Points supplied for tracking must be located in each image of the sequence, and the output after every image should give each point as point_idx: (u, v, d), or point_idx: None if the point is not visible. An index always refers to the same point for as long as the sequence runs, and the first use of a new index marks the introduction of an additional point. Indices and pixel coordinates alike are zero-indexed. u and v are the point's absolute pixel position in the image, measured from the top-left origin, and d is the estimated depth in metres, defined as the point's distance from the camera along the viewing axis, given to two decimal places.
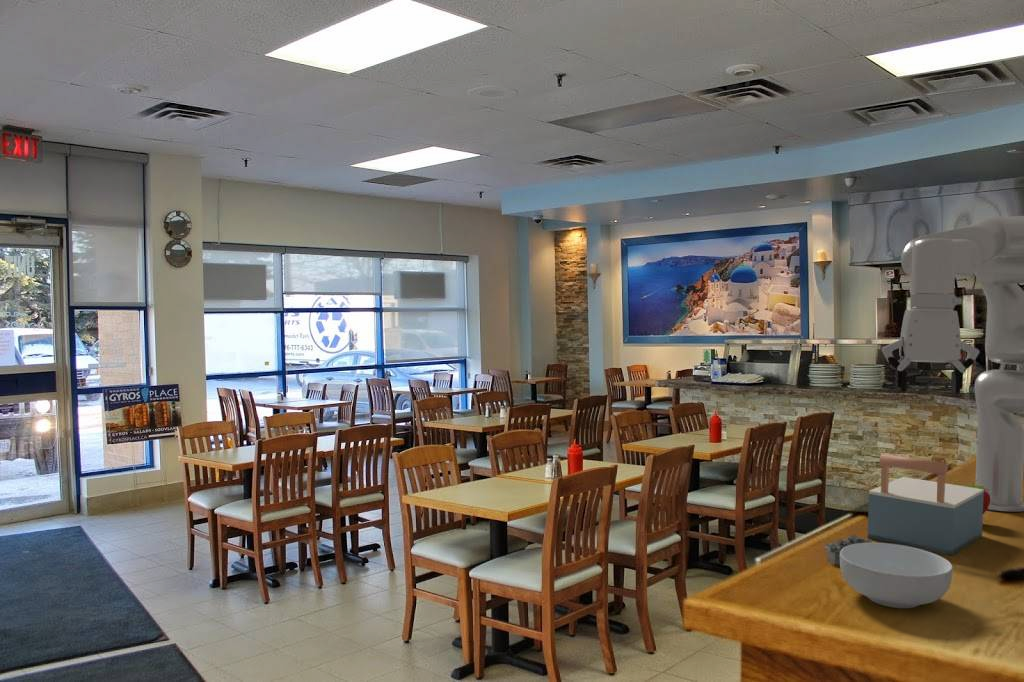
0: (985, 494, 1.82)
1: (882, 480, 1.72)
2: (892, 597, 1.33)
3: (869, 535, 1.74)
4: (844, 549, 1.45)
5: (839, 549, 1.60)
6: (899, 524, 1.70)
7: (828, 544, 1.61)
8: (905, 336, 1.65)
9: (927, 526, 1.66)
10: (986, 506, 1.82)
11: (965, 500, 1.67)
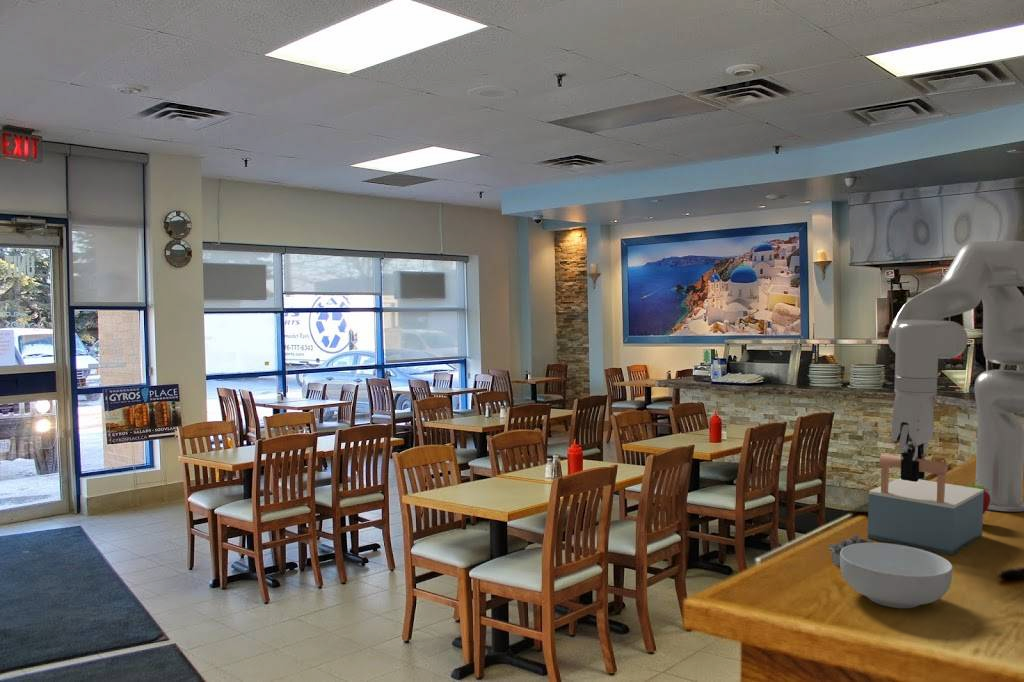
0: (985, 494, 1.82)
1: (882, 480, 1.72)
2: (892, 597, 1.33)
3: (869, 535, 1.74)
4: (844, 549, 1.45)
5: None
6: (899, 524, 1.70)
7: (832, 545, 1.60)
8: (911, 422, 1.63)
9: (927, 526, 1.66)
10: (986, 506, 1.82)
11: (965, 500, 1.67)
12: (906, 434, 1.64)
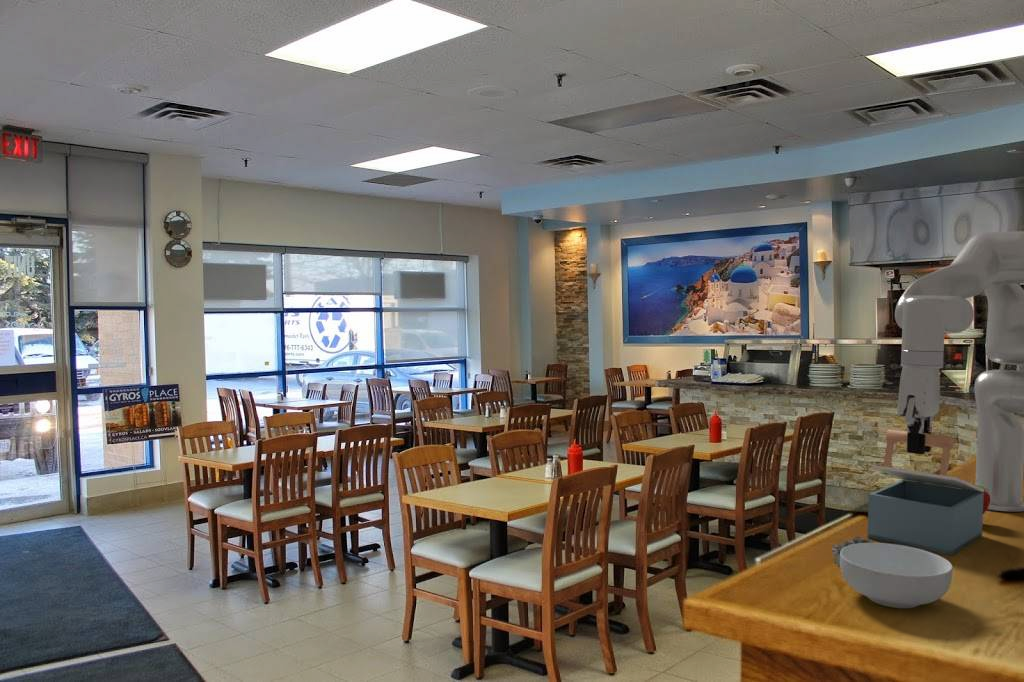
0: (985, 494, 1.82)
1: (886, 454, 1.73)
2: (892, 597, 1.33)
3: (869, 535, 1.74)
4: (844, 549, 1.45)
5: None
6: (899, 524, 1.70)
7: (834, 546, 1.59)
8: (918, 395, 1.65)
9: (927, 526, 1.66)
10: (986, 506, 1.82)
11: (967, 483, 1.67)
12: (913, 407, 1.66)
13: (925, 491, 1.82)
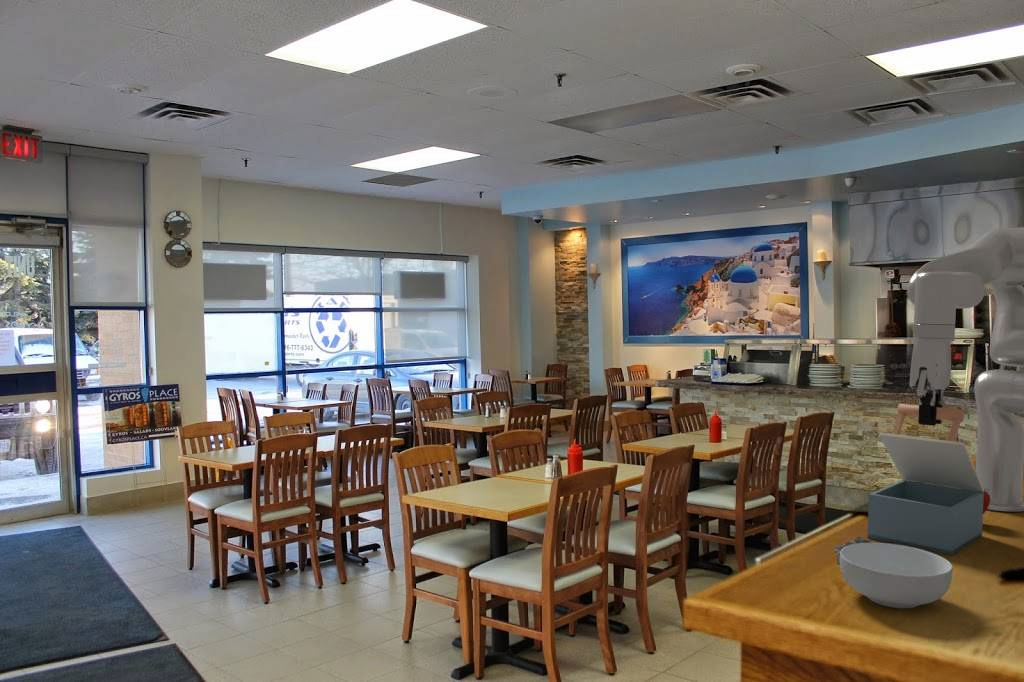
0: (985, 494, 1.82)
1: (896, 424, 1.76)
2: (892, 597, 1.33)
3: (869, 535, 1.74)
4: (844, 549, 1.45)
5: None
6: (899, 524, 1.70)
7: (837, 547, 1.59)
8: (930, 367, 1.69)
9: (927, 526, 1.66)
10: (986, 506, 1.82)
11: (971, 462, 1.69)
12: (924, 378, 1.69)
13: (925, 491, 1.82)
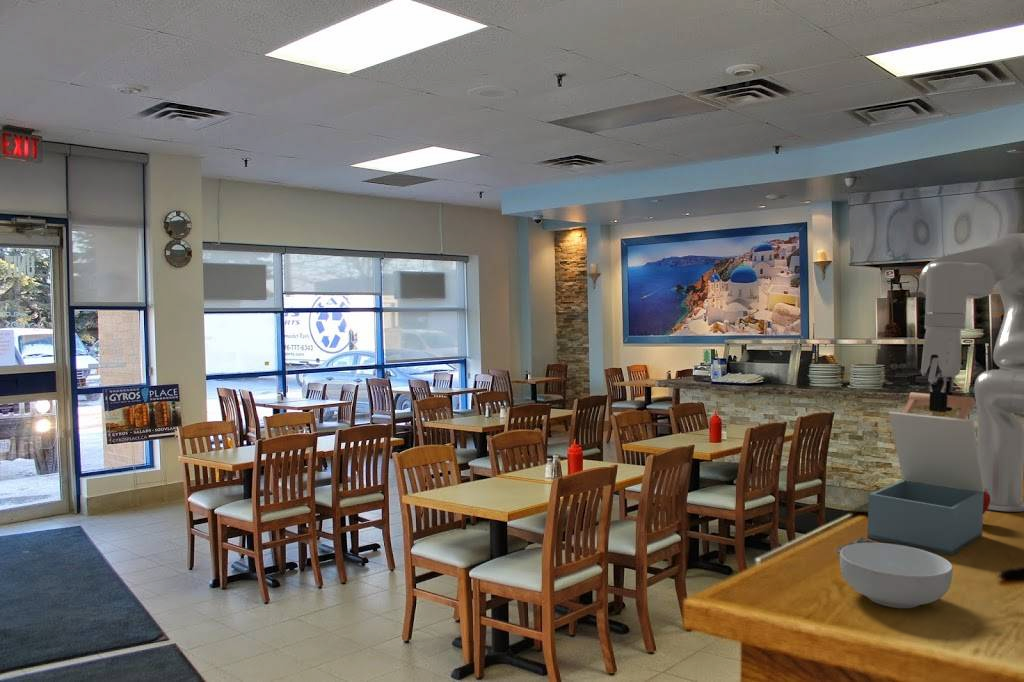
0: (985, 494, 1.82)
1: (906, 407, 1.79)
2: (892, 597, 1.33)
3: (869, 535, 1.74)
4: (844, 549, 1.45)
5: None
6: (899, 524, 1.70)
7: (840, 547, 1.59)
8: (941, 354, 1.73)
9: (927, 526, 1.66)
10: (986, 506, 1.82)
11: (977, 448, 1.71)
12: (936, 366, 1.74)
13: (925, 491, 1.82)
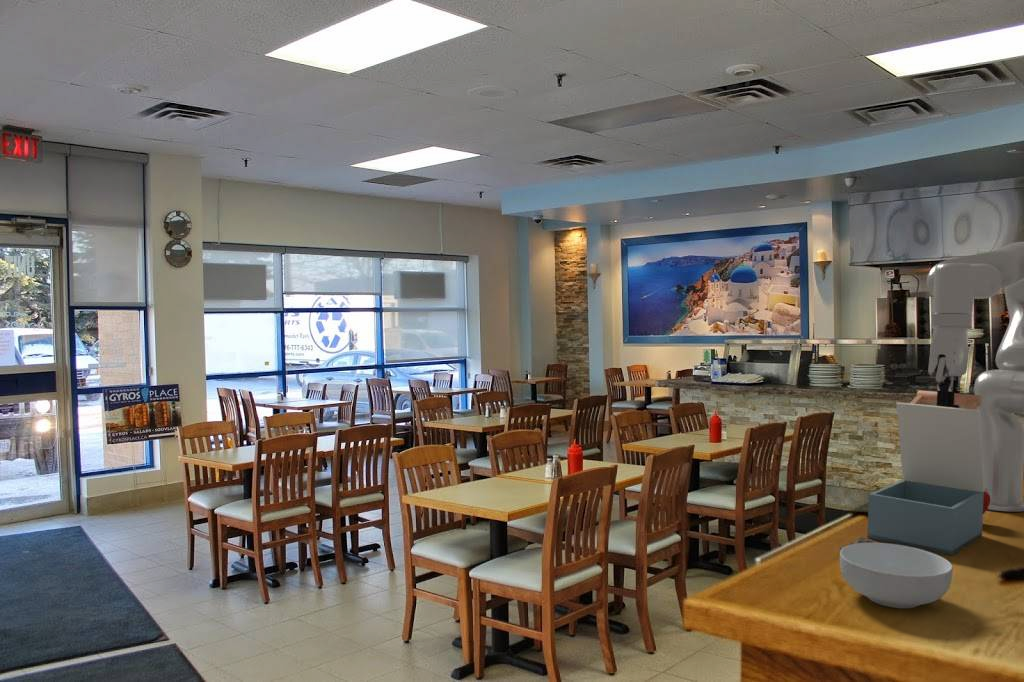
0: (985, 494, 1.82)
1: (913, 400, 1.82)
2: (892, 597, 1.33)
3: (869, 535, 1.74)
4: (844, 549, 1.45)
5: None
6: (899, 524, 1.70)
7: (841, 548, 1.58)
8: (948, 354, 1.76)
9: (927, 526, 1.66)
10: (986, 506, 1.82)
11: (981, 441, 1.72)
12: (943, 365, 1.77)
13: (925, 491, 1.82)
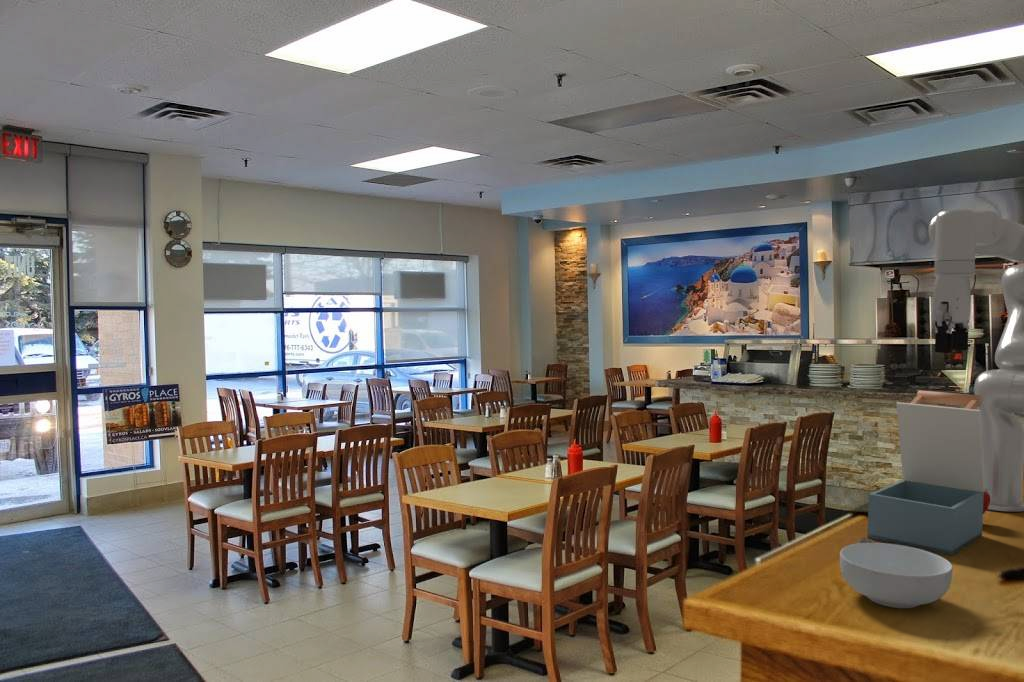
0: (985, 494, 1.82)
1: (913, 400, 1.82)
2: (892, 597, 1.33)
3: (869, 535, 1.74)
4: (844, 549, 1.45)
5: None
6: (899, 524, 1.70)
7: None
8: (951, 301, 1.76)
9: (927, 526, 1.66)
10: (986, 506, 1.82)
11: (981, 441, 1.72)
12: (945, 305, 1.76)
13: (925, 491, 1.82)
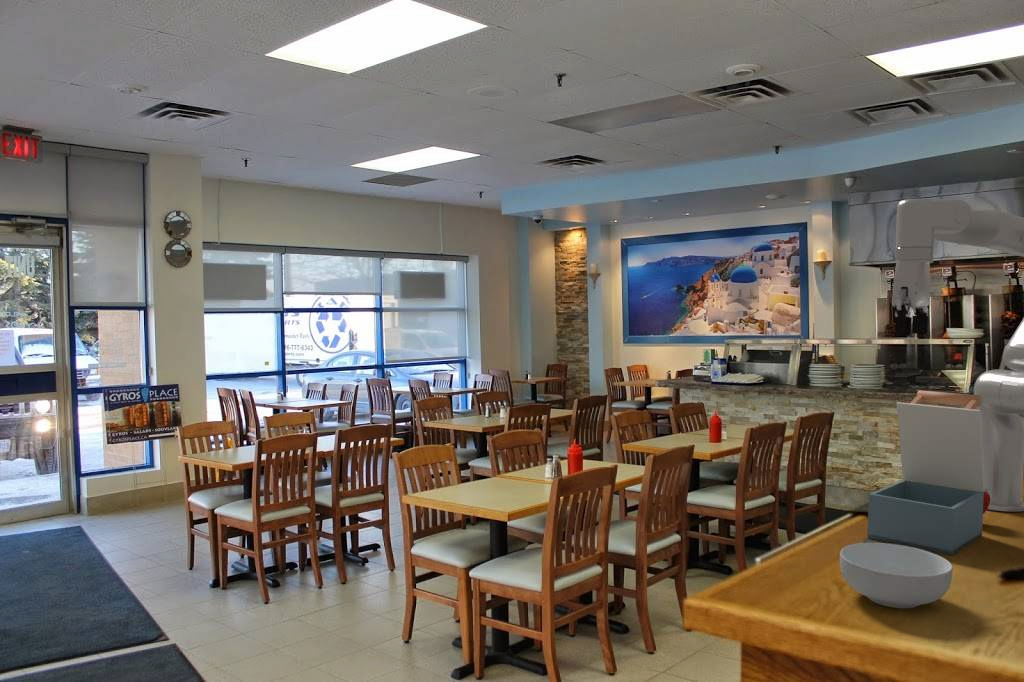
0: (985, 494, 1.82)
1: (913, 400, 1.82)
2: (892, 597, 1.33)
3: (869, 535, 1.74)
4: (844, 549, 1.45)
5: None
6: (899, 524, 1.70)
7: None
8: (910, 286, 1.83)
9: (927, 526, 1.66)
10: (986, 506, 1.82)
11: (981, 441, 1.72)
12: (904, 290, 1.83)
13: (925, 491, 1.82)
